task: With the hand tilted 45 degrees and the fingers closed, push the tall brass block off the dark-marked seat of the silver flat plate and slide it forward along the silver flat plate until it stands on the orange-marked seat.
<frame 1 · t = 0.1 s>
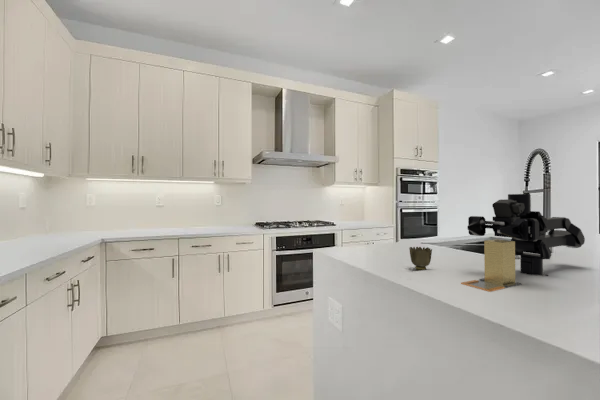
hand: (483, 229, 81), 17 cm above the worktop, tool horizontal, fingers open, 9 cm apart
cup: (420, 270, 100), on the worktop
silver flat plate: (491, 287, 80), on the worktop
brass block: (499, 282, 81), point 1 cm above the worktop, touching silver flat plate
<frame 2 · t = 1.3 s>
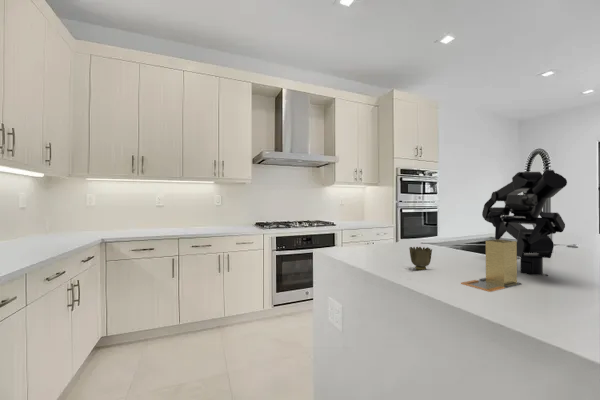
hand: (512, 240, 84), 13 cm above the worktop, tool tilted 45°, fingers open, 9 cm apart
nothing on the worktop moved.
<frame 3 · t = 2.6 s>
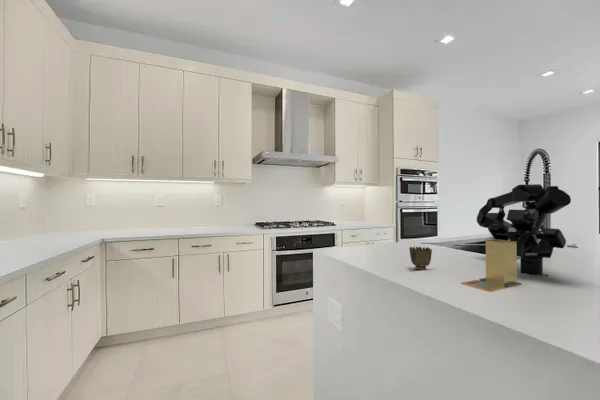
hand: (512, 255, 84), 8 cm above the worktop, tool tilted 45°, fingers closed
nothing on the worktop moved.
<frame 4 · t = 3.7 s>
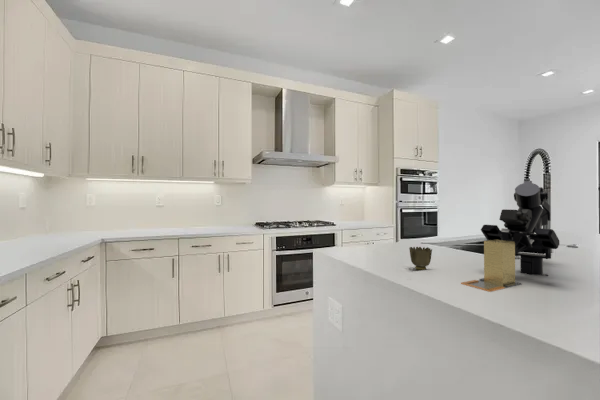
hand: (505, 256, 82), 8 cm above the worktop, tool tilted 45°, fingers closed, pressing on brass block
brass block: (499, 282, 81), point 1 cm above the worktop, touching gripper
everything else where it was.
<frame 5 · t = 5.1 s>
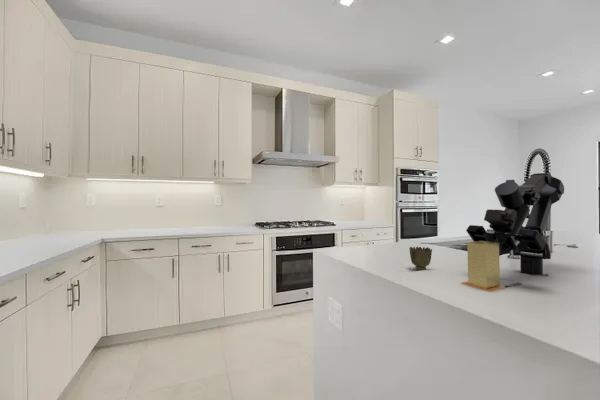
hand: (490, 258, 80), 8 cm above the worktop, tool tilted 45°, fingers closed, pressing on brass block
brass block: (484, 285, 78), point 1 cm above the worktop, touching gripper, silver flat plate
everything else where it was.
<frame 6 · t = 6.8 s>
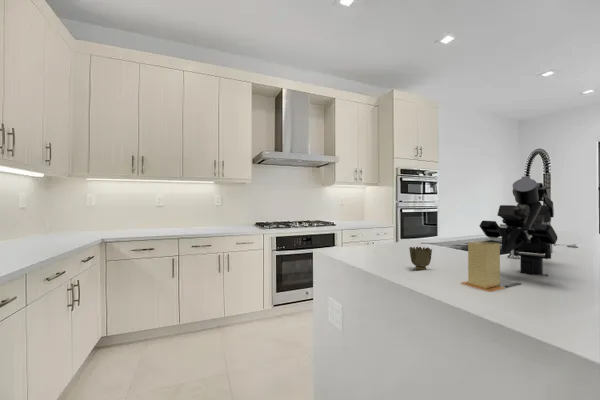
hand: (503, 252, 83), 9 cm above the worktop, tool tilted 45°, fingers closed
brass block: (484, 285, 78), point 1 cm above the worktop, touching silver flat plate
everything else where it was.
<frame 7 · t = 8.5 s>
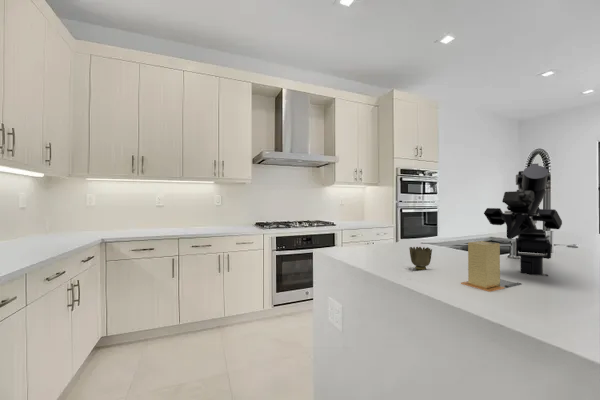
hand: (508, 238, 83), 14 cm above the worktop, tool tilted 45°, fingers closed
nothing on the worktop moved.
at the end: brass block 0.6 cm from the target spot, point 1.0 cm above the worktop; brass block tilted 0°; brass block moved 7.7 cm from its start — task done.
